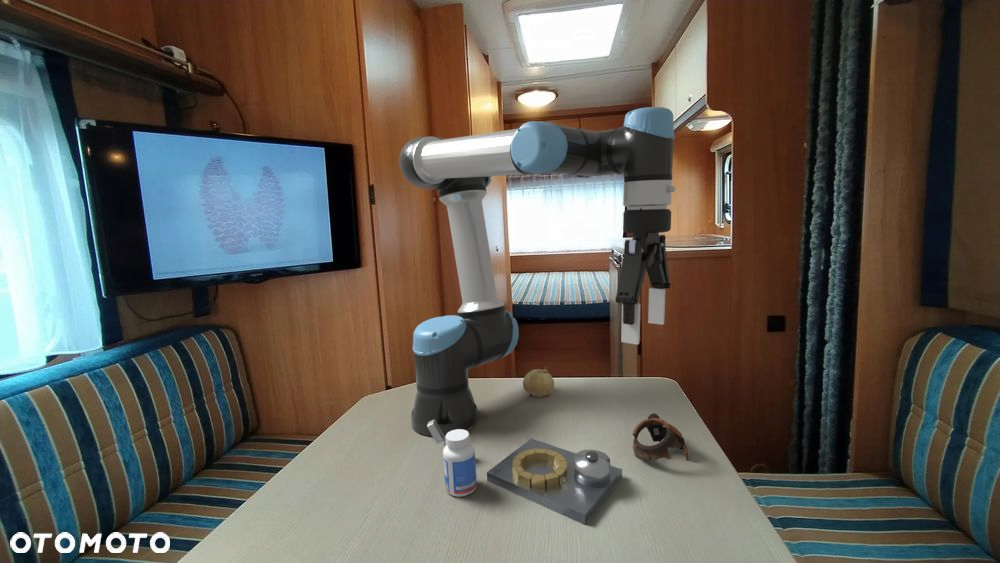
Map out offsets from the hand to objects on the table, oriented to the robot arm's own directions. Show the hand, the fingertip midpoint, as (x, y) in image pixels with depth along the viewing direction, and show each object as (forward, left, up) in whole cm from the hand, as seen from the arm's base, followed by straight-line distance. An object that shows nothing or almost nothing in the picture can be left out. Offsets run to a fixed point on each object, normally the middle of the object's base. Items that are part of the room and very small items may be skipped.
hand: (644, 332), depth 75 cm
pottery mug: (+1, +5, -25) cm, 26 cm away
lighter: (-31, -19, -25) cm, 44 cm away
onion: (-33, +16, -25) cm, 45 cm away
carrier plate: (-11, -13, -25) cm, 30 cm away
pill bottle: (-23, -24, -25) cm, 42 cm away
